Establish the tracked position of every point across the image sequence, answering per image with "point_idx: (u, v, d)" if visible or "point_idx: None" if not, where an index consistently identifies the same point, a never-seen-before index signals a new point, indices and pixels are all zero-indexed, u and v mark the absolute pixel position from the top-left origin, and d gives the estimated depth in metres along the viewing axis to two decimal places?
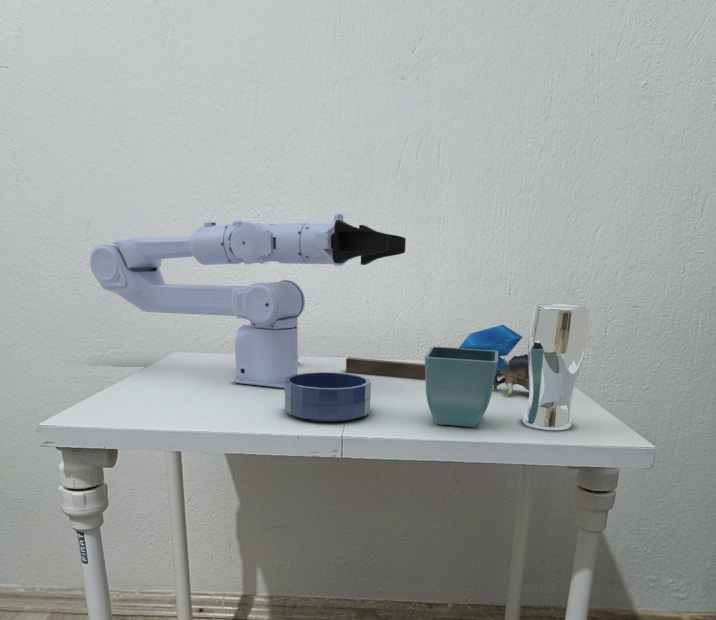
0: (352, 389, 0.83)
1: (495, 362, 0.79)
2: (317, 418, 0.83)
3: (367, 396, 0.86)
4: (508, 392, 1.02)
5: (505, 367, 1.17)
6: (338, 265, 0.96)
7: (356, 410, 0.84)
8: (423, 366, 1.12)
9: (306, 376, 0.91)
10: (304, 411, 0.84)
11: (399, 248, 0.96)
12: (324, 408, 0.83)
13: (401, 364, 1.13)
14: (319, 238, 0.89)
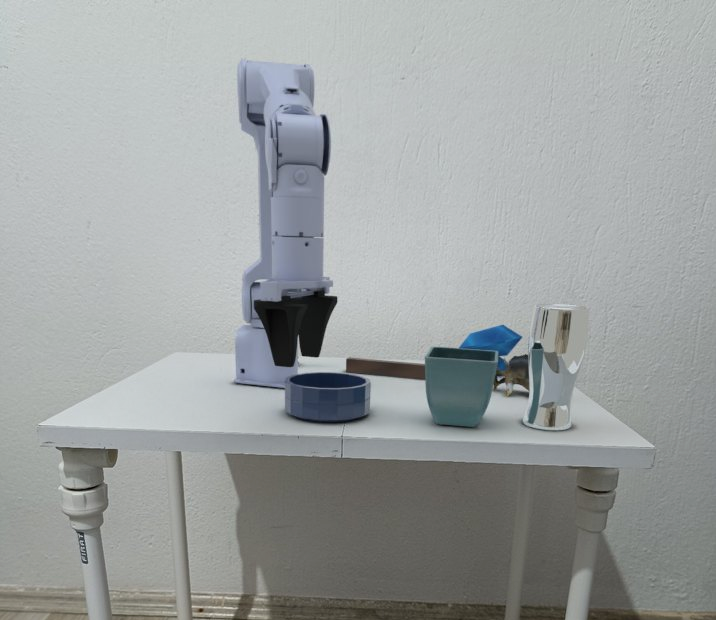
0: (352, 389, 0.83)
1: (495, 362, 0.79)
2: (317, 418, 0.83)
3: (367, 396, 0.86)
4: (508, 392, 1.02)
5: (505, 367, 1.17)
6: None
7: (356, 410, 0.84)
8: (423, 366, 1.12)
9: (306, 376, 0.91)
10: (304, 411, 0.84)
11: (305, 351, 0.80)
12: (324, 408, 0.83)
13: (401, 364, 1.13)
14: (271, 288, 0.68)
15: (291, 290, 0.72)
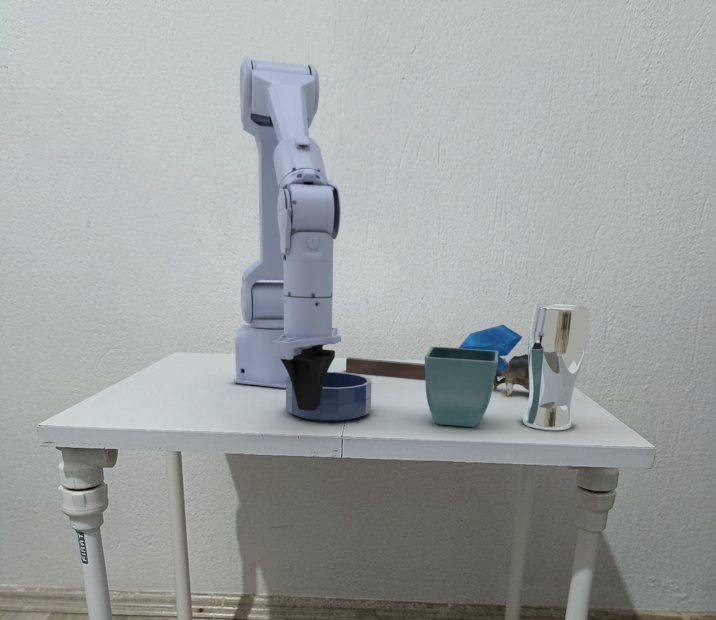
0: (353, 388, 0.83)
1: (495, 362, 0.79)
2: (318, 417, 0.83)
3: (367, 396, 0.86)
4: (508, 392, 1.02)
5: (505, 367, 1.17)
6: None
7: (357, 409, 0.85)
8: (423, 366, 1.12)
9: None
10: (305, 410, 0.84)
11: None
12: (325, 407, 0.83)
13: (401, 364, 1.13)
14: (284, 348, 0.73)
15: (302, 346, 0.76)
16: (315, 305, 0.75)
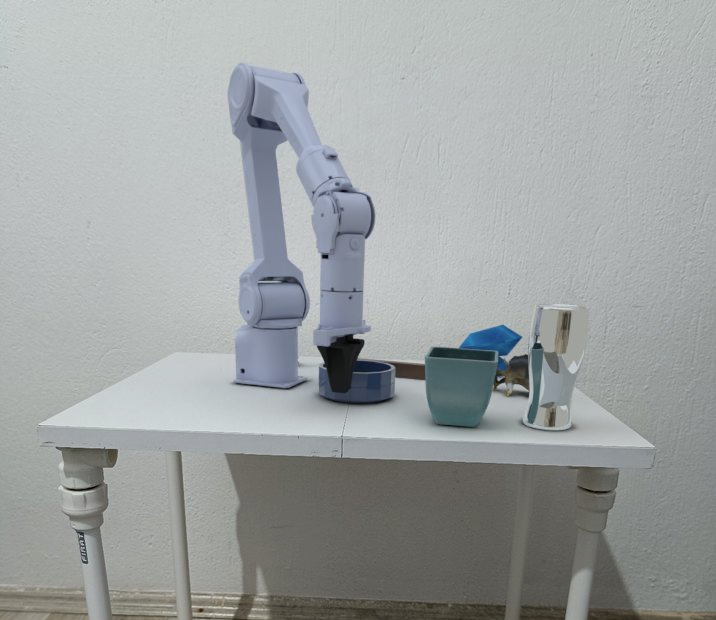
0: (380, 373, 0.93)
1: (495, 362, 0.79)
2: (349, 399, 0.93)
3: (392, 381, 0.96)
4: (508, 392, 1.02)
5: (505, 367, 1.17)
6: None
7: (383, 392, 0.95)
8: (423, 366, 1.12)
9: None
10: (337, 393, 0.94)
11: None
12: (355, 390, 0.93)
13: (401, 364, 1.13)
14: (322, 336, 0.83)
15: (337, 335, 0.86)
16: (349, 298, 0.85)
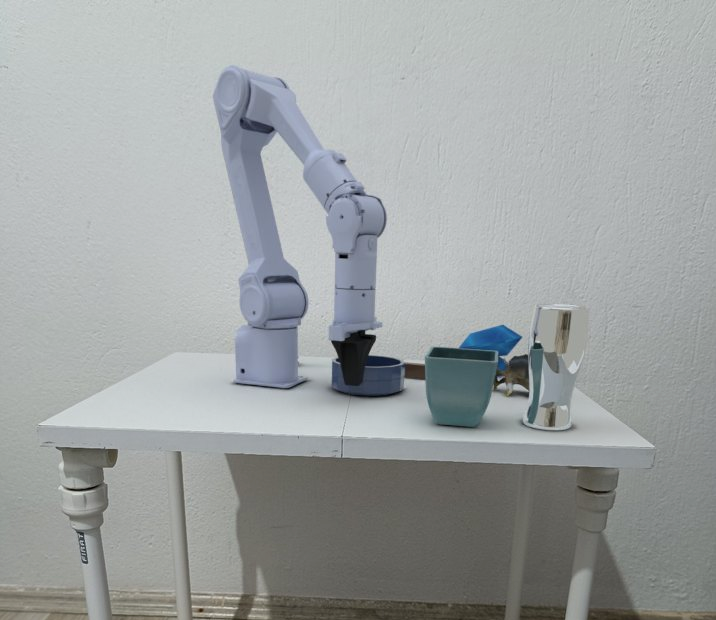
0: (391, 367, 0.98)
1: (495, 362, 0.79)
2: (361, 392, 0.98)
3: (402, 374, 1.01)
4: (508, 392, 1.02)
5: (505, 367, 1.17)
6: None
7: (393, 386, 0.99)
8: (423, 366, 1.12)
9: None
10: (350, 386, 0.98)
11: None
12: (367, 383, 0.98)
13: None
14: (337, 331, 0.87)
15: (350, 330, 0.91)
16: (362, 296, 0.90)
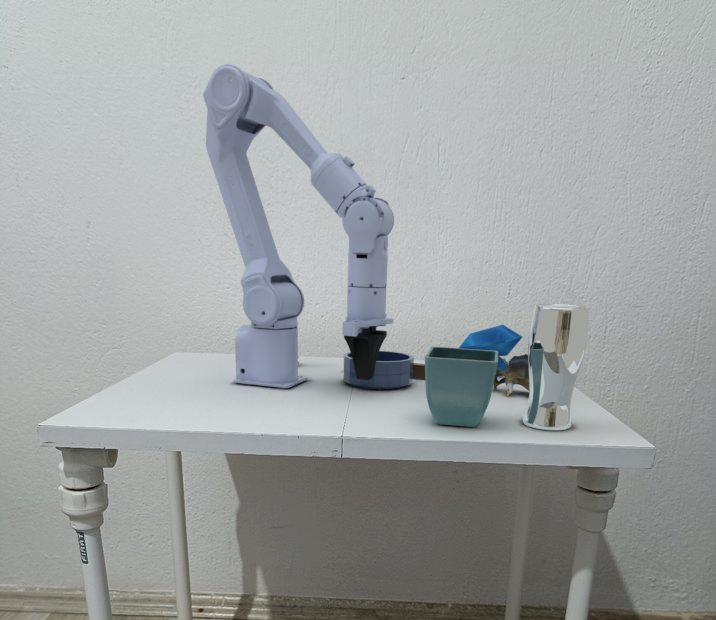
0: (400, 362, 1.02)
1: (495, 362, 0.79)
2: (372, 386, 1.03)
3: (411, 369, 1.05)
4: (508, 392, 1.02)
5: (505, 367, 1.17)
6: None
7: (403, 379, 1.04)
8: (423, 366, 1.12)
9: None
10: (361, 380, 1.03)
11: None
12: (378, 377, 1.02)
13: None
14: (351, 327, 0.92)
15: (363, 326, 0.96)
16: (374, 293, 0.95)
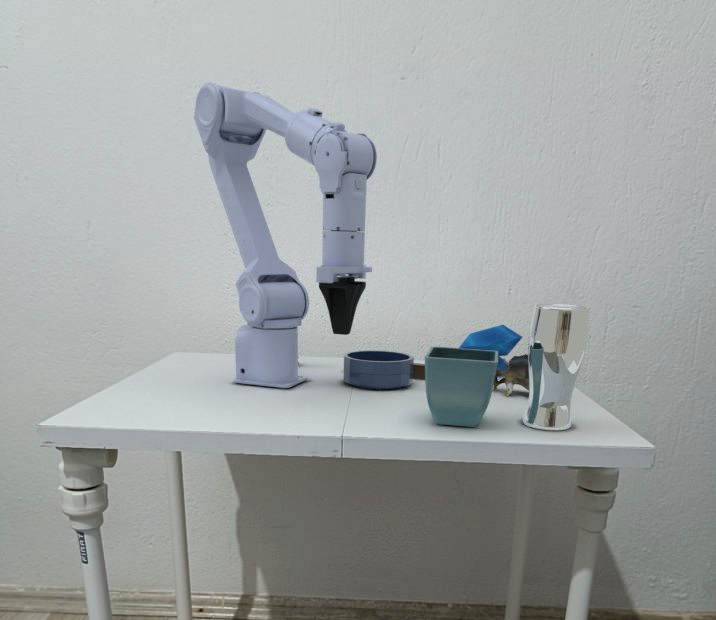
0: (400, 362, 1.02)
1: (495, 362, 0.79)
2: (372, 386, 1.03)
3: (411, 369, 1.05)
4: (508, 392, 1.02)
5: (505, 367, 1.17)
6: None
7: (403, 380, 1.04)
8: (423, 366, 1.12)
9: (359, 353, 1.11)
10: (361, 380, 1.03)
11: None
12: (378, 377, 1.02)
13: None
14: (325, 272, 0.84)
15: (339, 274, 0.88)
16: (351, 238, 0.87)
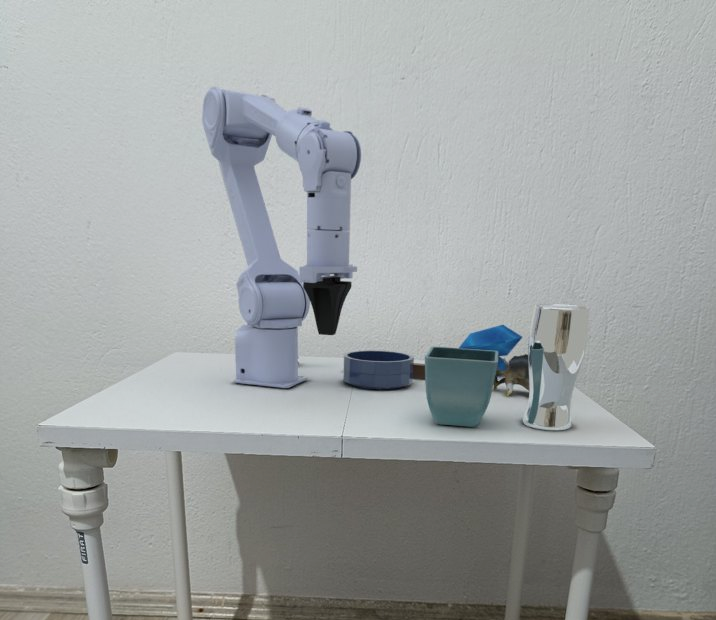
0: (400, 362, 1.02)
1: (495, 362, 0.79)
2: (372, 386, 1.03)
3: (411, 369, 1.05)
4: (508, 392, 1.02)
5: (505, 367, 1.17)
6: None
7: (403, 380, 1.04)
8: (423, 366, 1.12)
9: (359, 353, 1.11)
10: (361, 380, 1.03)
11: None
12: (378, 377, 1.02)
13: None
14: (308, 272, 0.83)
15: (323, 274, 0.87)
16: (335, 237, 0.86)
